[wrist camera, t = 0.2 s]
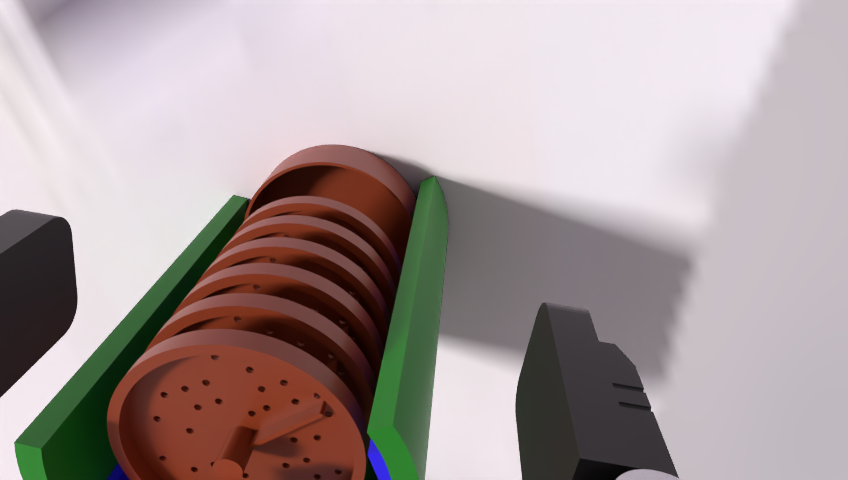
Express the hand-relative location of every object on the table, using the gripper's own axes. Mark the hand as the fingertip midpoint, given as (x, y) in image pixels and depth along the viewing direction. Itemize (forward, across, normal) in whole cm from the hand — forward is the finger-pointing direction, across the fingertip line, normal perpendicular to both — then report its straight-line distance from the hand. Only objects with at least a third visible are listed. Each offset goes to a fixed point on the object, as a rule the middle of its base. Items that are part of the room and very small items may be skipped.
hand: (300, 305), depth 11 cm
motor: (+18, +2, +7) cm, 19 cm away
